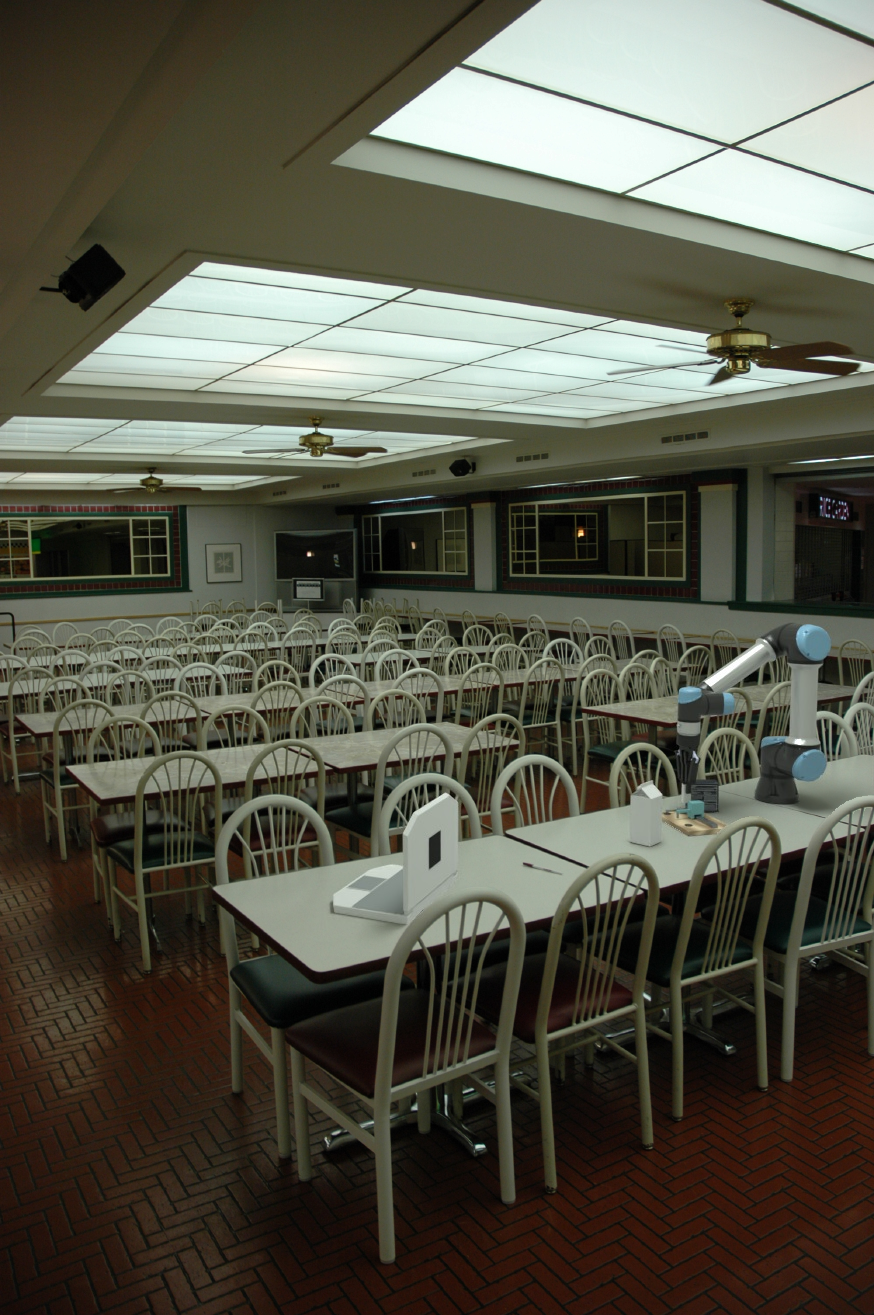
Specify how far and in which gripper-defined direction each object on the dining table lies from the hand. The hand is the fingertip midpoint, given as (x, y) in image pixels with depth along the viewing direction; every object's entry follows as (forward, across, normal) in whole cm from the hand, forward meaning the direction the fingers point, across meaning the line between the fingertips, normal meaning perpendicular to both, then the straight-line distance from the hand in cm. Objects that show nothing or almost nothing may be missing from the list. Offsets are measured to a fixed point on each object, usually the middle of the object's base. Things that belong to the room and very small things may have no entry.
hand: (685, 802), depth 314 cm
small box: (+6, -7, +10) cm, 14 cm away
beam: (+4, +8, -2) cm, 9 cm away
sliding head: (+4, +6, -2) cm, 7 cm away
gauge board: (+5, +8, -2) cm, 10 cm away
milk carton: (+6, +21, -26) cm, 34 cm away
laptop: (+7, +44, -111) cm, 119 cm away
